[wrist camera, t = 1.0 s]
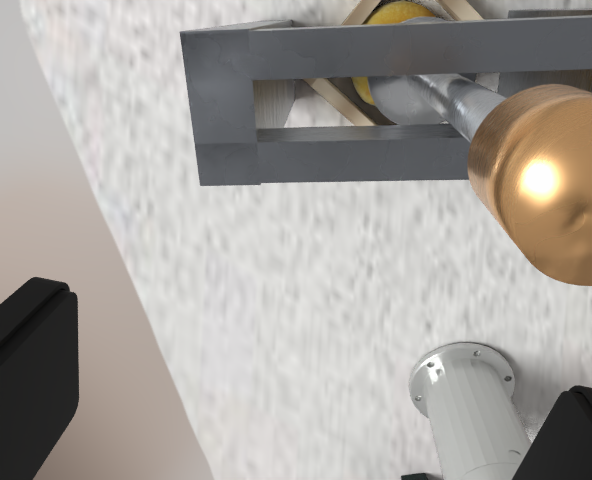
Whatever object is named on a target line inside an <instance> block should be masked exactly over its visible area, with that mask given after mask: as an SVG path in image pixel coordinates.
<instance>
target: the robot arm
mask: <svg viewBox="0 0 592 480" xmlns="http://www.w3.org/2000/svg"><path fill="white" fill-rule="evenodd" d="M78 368H79V367H78V301H77V295H76V294H75V293H74V292H70V289H69V286H68V285H67V284H66V283H64V282H59V281H54V280H49V279H44V278H39V277H33V278H31V279H30V280H28V281H27V282H26V283H25V284H23V286H21V287H20V288H19V289H18V290H16V291H15V292H14V293H13V294H12V295H11V296H9V297H8V298H7V299H6V300H5V301H4V302H2V303H1V304H0V480H33V478H34V477H35V475H36V473H37V472H38V470H39V469H40V467H41V466H42V464H43V463H44V461H45V460H46V458H47V457H48V455H49V454H50V452H51V451H52V449H53V447H54V446H55V444H56V443H57V441H58V440H59V438H60V437H61V435H62V434H63V432H64V431H65V429H66V428H67V426H68V425H69V423H70V421H71V420H72V418H73V416H74V414H75V412H76V409H77V406H78V402H79V369H78ZM514 388H515V377H514V374H513V371H512V369H511V367H510V365H509V363H508V362H507V361H506V359H505V358H504V357H503V356H502V355H501V354H499V353H498V352H497V351H495V350H493V349H491V348H489V347H486V346H483V345H480V344H473V343H457V344H451V345H447V346H444V347H441V348H438V349H436V350H434V351H432V352H430V353H429V354H427V355H426V356H425V357H423V358H422V359H421V360H420V361H419V362H418V363H417V365H416V366H415V368H414V369H413V371H412V373H411V376H410V380H409V390H410V396H411V399H412V402H413V403H414V405H415V407H416V408H417V409H418V410H419V412H420V413H421V414H423V415H424V416H426V417H427V418H429V421H430V425H431V429H432V433H433V437H434V442H435V446H436V450H437V454H438V458H439V462H440V467H441V471H442V475H443V479H444V480H592V388H589V387H584V386H574V387H572V388H571V389H570V390H569V391H564V392H563V393H561V395H560V396H559V397H558V399H557V401H556V403H555V404H554V406H553V408H552V410H551V411H550V413H549V415H548V417H547V418H546V420H545V422H544V424H543V425H542V427H541V429H540V431H539V432H538V434H537V436H536V438H535V439H534V441H533V443H532V444H531V441H530V439H529V437H528V435H527V433H526V431H525V429H524V426H523V424H522V422H521V420H520V418H519V416H518V414H517V411H516V409H515V407H514V405H513V403H512V401H511V397H512V395H513V393H514Z"/></svg>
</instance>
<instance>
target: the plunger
mask: <svg viewBox="0 0 592 480" xmlns="http://www.w3.org/2000/svg"><path fill="white" fill-rule="evenodd" d="M441 21H447V20H444V19H441V18H436V17H414V18H410V19H407V20H404V21H402V22H400V23H417V22H441ZM475 77H476V73H458V74H428V75H398V76H368V77H367V82H368V88H369V91H370V94H371V97H372V99H373V101H374V103H375V105H376V106H377V108H378V109H379V110H380V112H381V113H382V114H383V115H384V116H385V117H386V118H388V119H389V120H391V121H392V122H394V123H396V124H398V125H419V124H439V123H441V122H443V121H445V120H447V121H448V122H449V123H450V124H451V125H452V126H453V127H454V128H455V129H456V130H457V131H458V132H459V133H460V134H462V135H463V136H464V137H465V138H466V139H467V140H468V141H469V142H470V143H471V145H470V148H469V153H468V162H467V167H468V176H469V180H470V183H471V185H472V188H473V190H474V192H475V193H476V195H477V196H478V198H479V199H480V200H481V201H482V203H483V204H484V205H485V206H486V208H487V209H488V210H489V211H490V213H491V214H492V215H493V216H494V218H495V219H496V220H497V221H498V223H499V224H500V225H501V226H502V228H503V229H504V230H505V231H506V233H507V234H508V235H509V237H510V238H511V239H512V240H513V242H514V243H515V244H516V245H517V247H518V248H519V249H520V250H521V252H522V253H523V254H524V255H525V257H526V258H527V259H528V260H529V261H530V263H531V264H532V265H533V266H535V267H536V268H537V269H538V270H539V271H541V272H542V273H544V274H545V275H547V276H549V277H551V278H553V279H555V280H558V281H561V282H564V283H568V284H574V285H581V286H592V92H588V91H585V90H582V89H579V88H575V87H572V86H568V85H562V84H546V85H539V86H534V87H530V88H528V89H525V90H522V91H520V92H518V93H516V94H514V95H512V96H510V97H508V98H505V97H503V96H501V95H499V94H497V93H495V92H493V91H491V90H489V89H487V88H485V87H483V86H481V85H479V84H477V83H475Z"/></svg>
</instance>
